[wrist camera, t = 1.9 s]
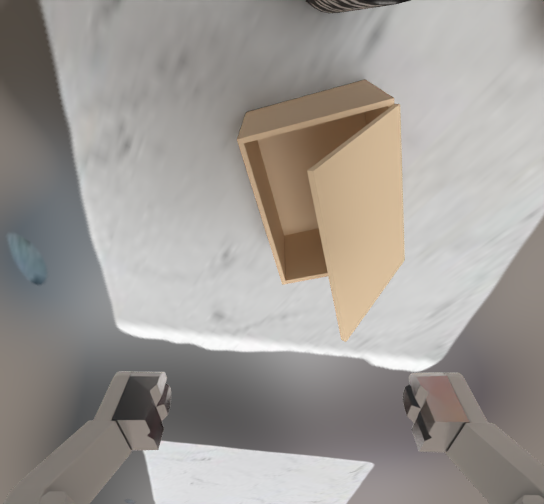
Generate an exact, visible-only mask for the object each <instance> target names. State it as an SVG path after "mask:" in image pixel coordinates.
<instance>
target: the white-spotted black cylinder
mask: <svg viewBox="0 0 544 504" xmlns="http://www.w3.org/2000/svg"><path fill="white" fill-rule="evenodd" d="M306 1H307V2H308V3H309V4H310V5H311V6H313V7H314V8H316V9H318V10H320V11H322V12H326V13H340V12H347V11H353V10H360V9H367V8H373V7H380V6H387V5H394V4H398V3H402V2H406V1H410V0H306Z"/></svg>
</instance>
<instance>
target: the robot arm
mask: <svg viewBox="0 0 544 504" xmlns="http://www.w3.org/2000/svg"><path fill="white" fill-rule="evenodd" d="M166 379H167V377H166V374H165V372H134V371H130V372H129V371H123V372H122V371H118V372H117V373H116V374H115V376H114V377H113V379H112V381H111V383H110V386H109V388H108V390H107V392H106V394H105V396H104V398H103V401H102V403H101V405H100V407H99V409H98V411H97V413H96V416H95V418H94V420H93V421H88V422H87V423H86V424H84V425H83V427H81V428H80V429H79V430H78V431H77V432H75V433H74V434H73V435H72V436H71V437H70V438H69V439H67V440H66V441H65V442H64V443H63V444H62V445H61V446H60V447H59V448H57V449H56V450H55V451H54V452H53V453H52V454H51V455H49V456H48V457H47V458H46V459H45V460H44V461H43V462H41V463H40V464H39V465H38V466H37V467H36V468H35V469H34V470H32V471H31V472H30V473H29V474H28V475H27V476H26V477H25V478H23V479H22V480H21V481H20V482H19V483H18V484H17V485H15V486H14V487H13V488H12V489H11V491H10V492H9V494H8V496H7V498H6V499H5V501H4V503H3V504H89V503H90V502H91V501H92V500H93V499H94V497H95V496H96V495H97V494H98V492H99V491H100V490H101V489H102V488H103V487H104V485H105V484H106V483H107V482H108V480H109V479H110V478H111V477H112V476H113V474H114V473H115V472H116V471H117V470H118V468H119V467H120V466H121V465H122V463H123V462H124V461H125V460H126V459H127V457H128V456H129V455H130V454H131V452H132V451H131V450H158V449H159V445H160V442H161V438H162V435H163V431H164V427H163V424H162V420H163V419H164V418H165V417H166V416H167V415H168V412H169V409H170V404H171V389H170V386H169V385H168V384H166ZM408 380H409V383H410V384H409V385H407V386H406V387H405V389H404V392H403V404H404V408H405V412H406V415H407V417H408V418H410V420H412V421H413V422H414V425H413V427H412V433H413V435H414V438H415V441H416V444H417V447H418V450H419V451H420V452H446V455H447V456H448V457H449V458H450V459H451V460H452V462H453V463H454V464H455V465H456V466H457V467H458V468H459V470H460V471H461V472H462V473H463V474H464V475H465V476H466V478H467V479H468V480H469V481H470V482H471V483H472V484H473V486H474V487H475V488H476V489H477V490H478V491H479V492H480V494H481V495H482V496H483V497H484V498H485V499H486V500H487V502H488V503H489V504H544V465H543V464H541V462H539V461H538V460H537V459H536V458H535V457H533V456H532V455H531V454H529V453H528V452H527V451H526V450H525V449H524V448H522V447H521V446H520V445H519V444H518V443H516V442H515V441H514V440H513V439H512V438H510V437H509V436H508V435H507V434H506V433H504V432H503V431H502V430H501V429H500V428H498V427H497V426H496V425H495V424H494V423H488V422H487V420H486V418H485V416H484V414H483V412H482V410H481V409H480V407H479V405H478V403H477V401H476V400H475V397H474V396H473V394H472V392H471V390H470V388H469V387H468V385H467V383H466V381H465V379H464V377H463V376H462V375H461V374H460V373H441V372H434V373H412V374H410V376H409V378H408Z"/></svg>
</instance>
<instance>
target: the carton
mask: <svg viewBox="0 0 544 504" xmlns="http://www.w3.org/2000/svg"><path fill="white" fill-rule="evenodd" d="M393 105H394V98H393V97H392V96H390V95H389V94H387V93H385V92H384V91H382V90H381V89H379V88H378V87H376V86H375V85H373V84H372V83H370V82H368V81H367V80H361V81H358V82H354V83H350V84H347V85H343V86H340V87H336V88H332V89H329V90H325V91H321V92H318V93H314V94H310V95H307V96H303V97H300V98H296V99H292V100H289V101H285V102H281V103H278V104H274V105H270V106H267V107H263V108H260V109H256V110H252V111H249V112H246V114H245V117H244V120H243V123H242V126H241V129H240V132H239V135H238V138H237V141H238V145H239V148H240V151H241V154H242V157H243V160H244V164H245V167H246V170H247V173H248V176H249V180H250V183H251V186H252V189H253V192H254V195H255V199H256V202H257V205H258V208H259V211H260V215H261V218H262V221H263V224H264V227H265V230H266V234H267V237H268V240H269V243H270V246H271V250H272V253H273V256H274V259H275V262H276V265H277V269H278V272H279V275H280V278H281V281H282V285H283V284H288V283H294V282H299V281H304V280H310V279H315V278H320V277H326V276H328V271H327V266H326V262H325V257H324V252H323V247H322V242H321V237H320V232H319V227H318V222H317V217H316V212H315V207H314V203H313V198H312V193H311V188H310V183H309V178H308V173H307V170H309V169H310V168H311V167H313V166H314V165H315V164H316V163H318V162H319V161H320V160H322V159H323V158H324V157H326V156H327V155H328V154H330V153H331V152H332V151H334V150H335V149H336V148H338V147H339V146H340V145H341V144H343V143H344V142H345V141H347V140H348V139H349V138H351V137H352V136H353V135H355V134H356V133H357V132H359V131H360V130H361V129H362V128H364V127H365V126H366V125H368V124H369V123H370V122H372V121H373V120H374V119H376V118H377V117H378V116H380V115H381V114H382V113H384V112H385V111H386V110H387V109H389V108H390V107H391V106H393Z"/></svg>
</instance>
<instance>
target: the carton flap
mask: <svg viewBox="0 0 544 504" xmlns="http://www.w3.org/2000/svg"><path fill="white" fill-rule="evenodd" d="M307 173H308V178H309V183H310V188H311V193H312V198H313V203H314V207H315V212H316V217H317V222H318V227H319V232H320V237H321V242H322V247H323V252H324V257H325V262H326V266H327V271H328V276H329V281H330V286H331V291H332V296H333V301H334V306H335V311H336V316H337V320H338V325H339V330H340V335H341V340H343V341H345V342H346V341H347V340H348V339H349V337H350V336H351V334H352V333H353V332H354V330H355V329H356V327H357V326H358V325H359V323H360V322H361V320H362V319H363V318H364V316H365V315H366V313H367V312H368V311H369V309H370V308H371V306H372V305H373V304H374V302H375V301H376V299H377V298H378V297H379V295H380V294H381V292H382V291H383V290H384V288H385V287H386V285H387V284H388V283H389V281H390V280H391V279H392V277H393V276H394V274H395V273H396V272H397V270H398V269H399V267H400V266H401V265H402V263H403V262H404V260H405V257H404V223H403V189H402V154H401V120H400V104H394V105H393V106H391V107H390V108H389V109H387V110H386V111H385V112H384V113H382V114H381V115H380V116H378V117H377V118H376V119H374V120H373V121H372V122H370V123H369V124H368V125H366V126H365V127H364V128H362V129H361V130H360V131H359V132H357V133H356V134H355V135H353V136H352V137H351V138H349V139H348V140H347V141H345V142H344V143H343V144H341V145H340V146H339V147H338V148H336V149H335V150H334V151H332V152H331V153H330V154H328V155H327V156H326V157H324V158H323V159H322V160H320V161H319V162H318V163H316V164H315V165H314V166H313V167H311V168H310V169H309V170H307Z"/></svg>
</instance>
